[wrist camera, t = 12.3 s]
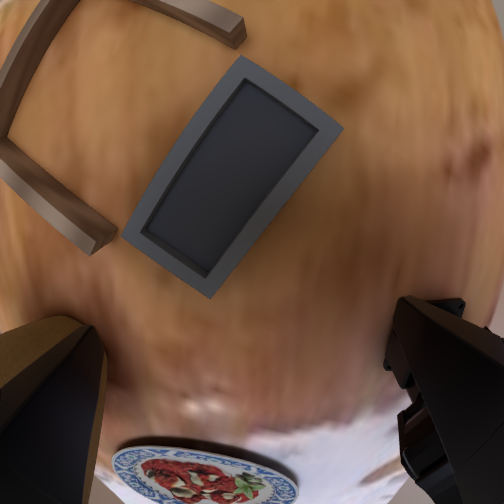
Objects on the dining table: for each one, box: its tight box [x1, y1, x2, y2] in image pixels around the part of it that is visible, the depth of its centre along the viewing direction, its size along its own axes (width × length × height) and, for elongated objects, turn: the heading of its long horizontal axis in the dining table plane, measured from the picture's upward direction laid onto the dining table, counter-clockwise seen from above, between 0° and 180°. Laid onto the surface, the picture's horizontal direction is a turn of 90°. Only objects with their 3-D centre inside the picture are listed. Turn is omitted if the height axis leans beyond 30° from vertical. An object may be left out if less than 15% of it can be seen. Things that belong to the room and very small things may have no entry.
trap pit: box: [121, 55, 344, 299], centre depth 17 cm, size 7×13×2 cm, turn 144°
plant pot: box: [0, 315, 108, 504], centre depth 16 cm, size 15×15×16 cm
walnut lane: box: [0, 0, 247, 256], centre depth 14 cm, size 15×16×3 cm
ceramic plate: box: [111, 445, 299, 504], centre depth 30 cm, size 26×26×3 cm
